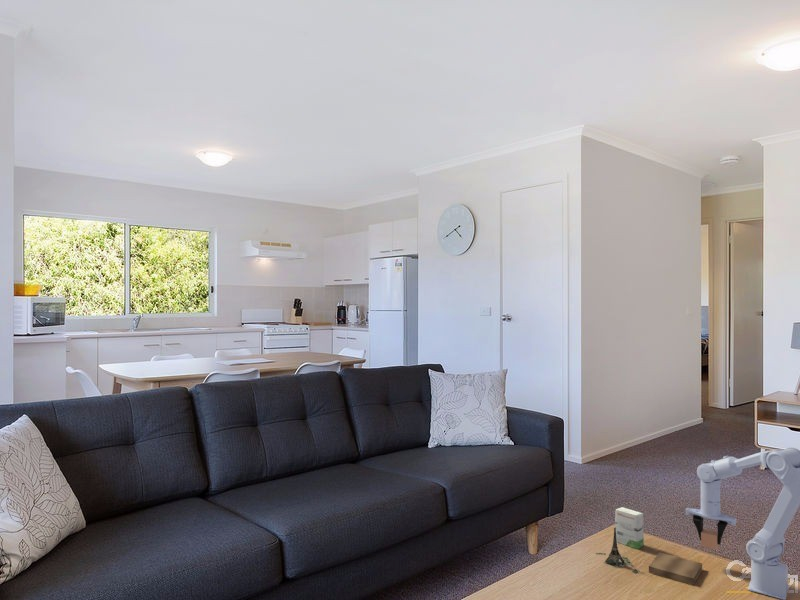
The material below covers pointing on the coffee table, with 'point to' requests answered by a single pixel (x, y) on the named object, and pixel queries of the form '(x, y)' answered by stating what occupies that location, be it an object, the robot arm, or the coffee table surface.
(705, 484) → the robot arm
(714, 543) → the terracotta block
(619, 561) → the eiffel tower figurine
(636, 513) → the ink box
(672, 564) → the walnut base
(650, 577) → the coffee table surface
